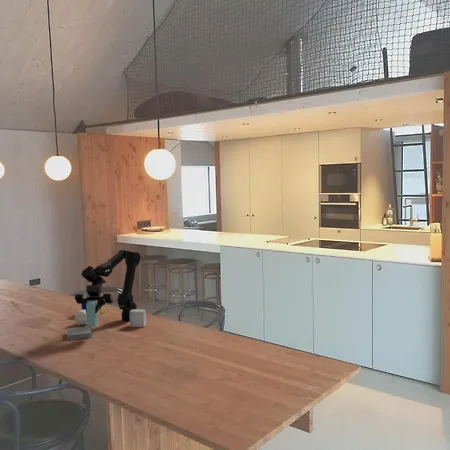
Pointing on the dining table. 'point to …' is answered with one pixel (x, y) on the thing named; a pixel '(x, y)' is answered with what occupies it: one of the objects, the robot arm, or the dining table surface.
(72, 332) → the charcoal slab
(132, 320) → the medicine box
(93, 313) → the teal block
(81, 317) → the die
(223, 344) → the dining table surface
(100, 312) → the puzzle cube
